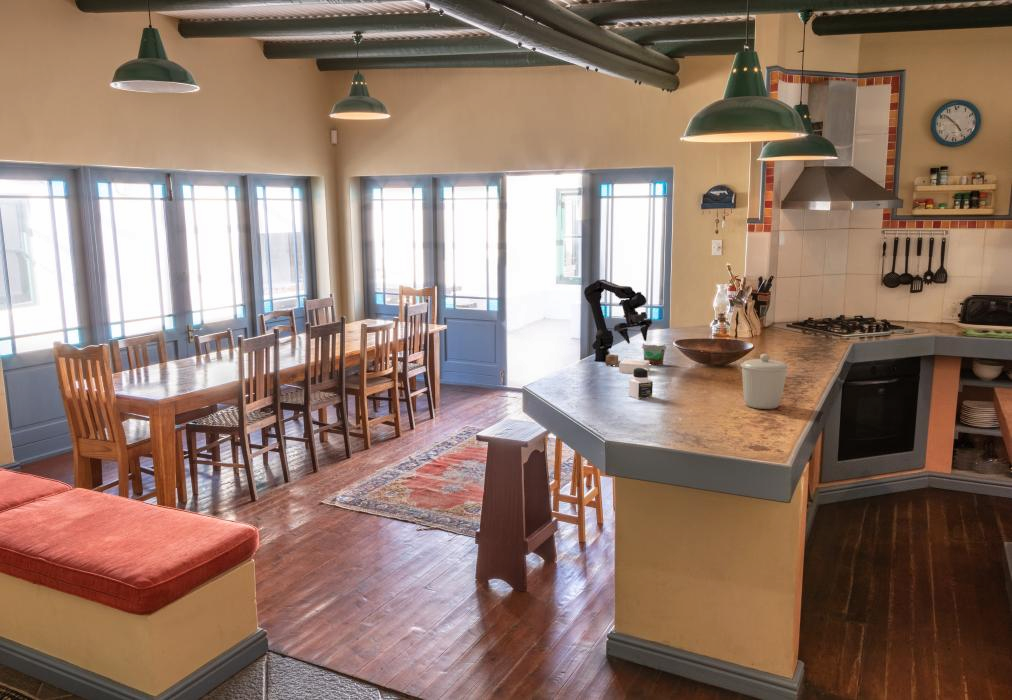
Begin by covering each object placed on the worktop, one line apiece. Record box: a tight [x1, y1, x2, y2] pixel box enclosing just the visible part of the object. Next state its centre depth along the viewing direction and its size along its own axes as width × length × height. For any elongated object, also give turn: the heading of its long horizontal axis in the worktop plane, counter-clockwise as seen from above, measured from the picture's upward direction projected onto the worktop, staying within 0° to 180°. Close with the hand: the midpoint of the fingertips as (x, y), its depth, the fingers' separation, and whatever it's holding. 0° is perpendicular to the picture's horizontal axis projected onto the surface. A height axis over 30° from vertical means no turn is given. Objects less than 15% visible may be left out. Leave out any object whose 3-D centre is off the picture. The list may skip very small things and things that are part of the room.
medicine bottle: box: [628, 368, 654, 400], centre depth 328 cm, size 7×7×12 cm
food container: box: [641, 343, 667, 366], centre depth 399 cm, size 12×6×10 cm, turn 62°
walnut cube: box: [605, 354, 619, 367], centre depth 397 cm, size 5×5×5 cm
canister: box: [740, 353, 790, 410], centre depth 312 cm, size 18×18×21 cm
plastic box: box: [618, 358, 650, 374], centre depth 382 cm, size 12×12×5 cm
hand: (637, 342), depth 386 cm, fingers open, 9 cm apart
